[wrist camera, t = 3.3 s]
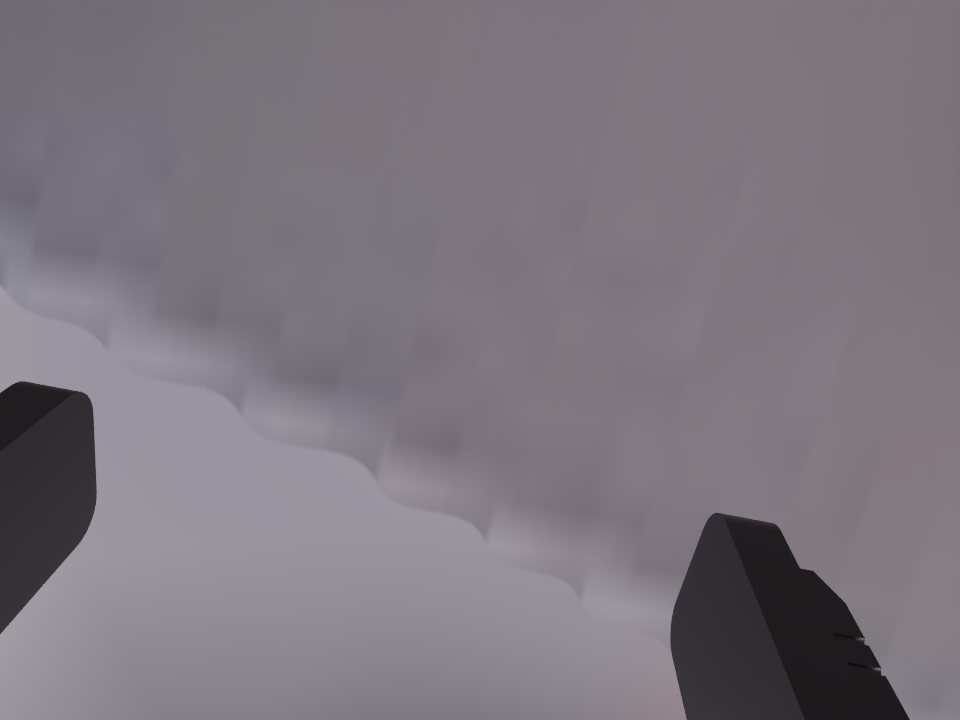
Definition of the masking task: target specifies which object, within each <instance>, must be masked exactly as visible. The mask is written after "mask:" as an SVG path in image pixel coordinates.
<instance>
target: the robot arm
mask: <svg viewBox="0 0 960 720" xmlns="http://www.w3.org/2000/svg"><path fill="white" fill-rule="evenodd" d="M96 493H97V491H96V468H95V444H94V420H93V407H92V403H91V401H90V399H89V397H88V396H87V395H86V394H85V393H82V392H78V391H72V390H67V389H62V388H56V387H51V386H46V385H40V384H35V383H30V382H18V383H15V384H13V385H11V386H10V387H8V388H7V389H5V390H4V391H3V392H1V393H0V634H1V633H2V632H3V630H4V629H5V628H6V627H7V626H8V625H9V623H10V622H11V621H12V620H13V619H14V618H15V617H16V615H17V614H18V613H19V612H20V611H21V610H22V609H23V607H24V606H25V605H26V604H27V603H28V602H29V600H30V599H31V598H32V597H33V596H34V595H35V594H36V592H37V591H38V590H39V589H40V588H41V587H42V585H43V584H44V583H45V582H46V581H47V580H48V579H49V577H50V576H51V575H52V574H53V573H54V572H55V571H56V569H57V568H58V567H59V566H60V565H61V564H62V563H63V561H64V560H65V559H66V558H67V557H68V556H69V555H70V553H71V552H72V551H73V550H74V549H75V548H76V547H77V545H78V544H79V543H80V541H81V540H82V539H83V537H84V535H85V533H86V532H87V530H88V527H89V525H90V523H91V520H92V517H93V514H94V510H95V505H96ZM670 639H671V652H672V657H673V661H674V666H675V670H676V674H677V679H678V683H679V687H680V692H681V696H682V701H683V705H684V709H685V713H686V718H687V720H910V719H909V718H908V716H907V714H906V712H905V710H904V708H903V707H902V705H901V703H900V701H899V699H898V698H897V696H896V694H895V692H894V690H893V689H892V687H891V685H890V683H889V681H888V680H887V678H886V676H881V667H880V665H879V663H878V661H877V660H876V658H875V656H874V654H873V652H872V651H871V649H870V647H869V646H867V645H865V644H864V640H865V638H864V636H863V634H862V632H861V631H860V629H859V627H858V625H857V623H856V622H855V620H854V618H853V616H852V614H851V613H850V611H849V609H848V607H847V605H846V603H845V602H844V601H843V600H842V599H841V598H840V597H839V596H838V595H837V594H836V593H835V592H834V591H833V590H832V589H831V588H830V587H829V586H828V585H827V584H826V583H825V582H824V581H823V580H822V579H821V578H820V577H819V576H818V575H817V574H816V573H815V572H814V571H810V570H805V569H800V568H799V566H798V564H797V562H796V560H795V558H794V556H793V554H792V552H791V550H790V548H789V546H788V544H787V542H786V540H785V538H784V536H783V534H782V532H781V530H780V529H779V527H778V526H777V525H775V524H773V523H769V522H764V521H758V520H753V519H748V518H742V517H737V516H731V515H726V514H721V513H715V514H713V515H712V516H710V518H709V519H708V521H707V522H706V524H705V527H704V529H703V531H702V534H701V537H700V539H699V542H698V545H697V547H696V550H695V553H694V555H693V558H692V561H691V563H690V566H689V568H688V571H687V574H686V576H685V579H684V582H683V584H682V587H681V590H680V592H679V595H678V598H677V600H676V603H675V606H674V610H673V615H672V622H671V637H670Z"/></svg>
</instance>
